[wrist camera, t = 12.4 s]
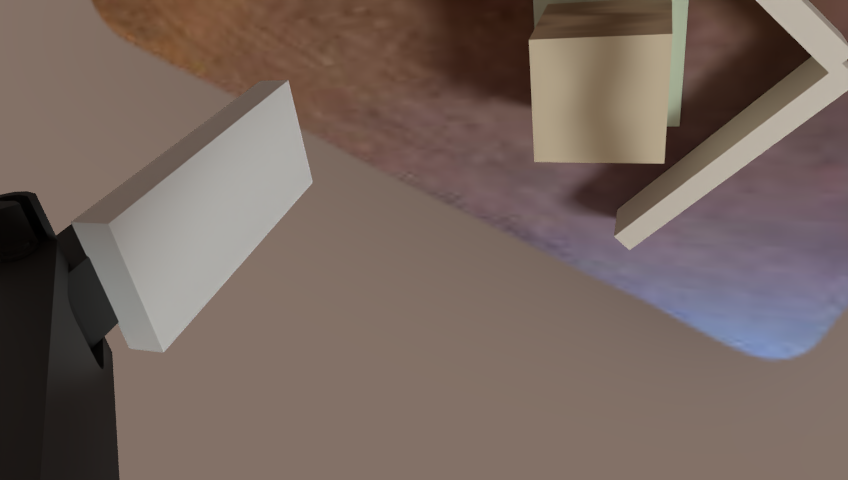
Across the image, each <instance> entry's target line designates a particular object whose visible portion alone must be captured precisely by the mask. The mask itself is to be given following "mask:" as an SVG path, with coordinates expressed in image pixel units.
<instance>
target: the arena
mask: <svg viewBox="0 0 848 480" xmlns="http://www.w3.org/2000/svg"><path fill="white" fill-rule="evenodd" d="M593 1H610V0H533V8H534V29H535V27H536V25H537V23H538V21H539V20H540V18H541V16H542V14H543V12H544V10H545V8H546V6H547V5H548V4H558V3H575V2H593ZM756 1H757V2H758V3H759V4H760V5H761V6H762V7H763V8H764V9H765V10H766V11H767V12H768V13H769V14H770V15H771V16H772V17H773V18H774V19H775V20H776V21H777V22H778V23H779V24H780V25H781V26H782V27H783V28H784V29H785V30H786V31H787V32H788V33H789V34H790V35H791V36H792V37H793V38H794V39H795V40H796V41H797V42H798V43H799V44H800V45H801V46H802V47H803V48H804V49H805V50H806V51H807V52H808V53H809V54H810V55H811V57H810V58H809V59H808V60H806V61H805V62H804V63H802V64H801V65H800V66H799V67H797V68H796V69H795V70H794V71H792V72H791V73H790V74H789V75H787V76H786V77H785V78H783V79H782V80H781V81H780V82H778V83H777V84H776V85H775V86H773V87H772V88H771V89H770V90H768V91H767V92H766V93H764V94H763V95H762V96H761V97H759V98H758V99H757V100H756V101H754V102H753V103H752V104H750V105H749V106H748V107H747V108H745V109H744V110H743V111H742V112H740V113H739V114H738V115H737V116H735V117H734V118H733V119H731V120H730V121H729V122H728V123H726V124H725V125H724V126H723V127H721V128H720V129H719V130H718V131H716V132H715V133H714V134H712V135H711V136H710V137H709V138H707V139H706V140H705V141H704V142H702V143H701V144H700V145H698V146H697V147H696V148H695V149H693V150H692V151H691V152H690V153H688V154H687V155H686V156H685V157H683V158H682V159H681V160H679V161H678V162H677V163H676V164H674V165H673V166H672V167H671V168H669V169H668V170H667V171H666V172H664V173H663V174H662V175H660V176H659V177H658V178H657V179H655V180H654V181H653V182H652V183H650V184H649V185H648V186H646V187H645V188H644V189H643V190H641V191H640V192H639V193H638V194H636V195H635V196H634V197H633V198H631V199H630V200H629V201H627V202H626V203H625V204H624V205H622V206H621V207H620V208H619V209H617V216H616V225H615V233H614V237H615V238H616V239H617V240H619V241H620V242H621V243H622V244H623V245H624V246H625V247H627V248H628V249H629V250H630V249H632V248H633V247H634V246H636V245H637V244H638V243H640V242H641V241H643V240H644V239H645V238H647V237H648V236H649V235H651V234H652V233H654V232H655V231H656V230H658V229H659V228H660V227H662V226H663V225H664V224H666V223H667V222H669V221H670V220H671V219H673V218H674V217H675V216H677V215H678V214H679V213H681V212H682V211H684V210H685V209H686V208H688V207H689V206H690V205H692V204H693V203H695V202H696V201H697V200H699V199H700V198H701V197H703V196H704V195H705V194H707V193H708V192H710V191H711V190H712V189H714V188H715V187H716V186H718V185H719V184H720V183H722V182H723V181H725V180H726V179H727V178H729V177H730V176H731V175H733V174H734V173H736V172H737V171H738V170H740V169H741V168H742V167H744V166H745V165H746V164H748V163H749V162H751V161H752V160H753V159H755V158H756V157H757V156H759V155H760V154H761V153H763V152H764V151H766V150H767V149H768V148H770V147H771V146H772V145H774V144H775V143H776V142H778V141H779V140H781V139H782V138H783V137H785V136H786V135H787V134H789V133H790V132H792V131H793V130H794V129H796V128H797V127H798V126H800V125H801V124H802V123H804V122H805V121H807V120H808V119H809V118H811V117H812V116H813V115H815V114H816V113H817V112H819V111H820V110H822V109H823V108H824V107H826V106H827V105H828V104H830V103H831V102H833V101H834V100H835V99H837V98H838V97H839V96H841V95H842V94H843V93H845V92H846V91H848V62H847V59H848V43H847V41H846V40H845V38H844V37H843V35H842V34H841V33H840V32H839V31H838V30H837V29H836V28H835V27H834V26H833V25H832V24H831V23H830V22H829V21H828V20H827V19H826V18H825V17H824V16H823V15H822V14H821V13H820V11H819V10H818V9H817V8H816V7H815V6H814V5H813V4H812V3H811V2H810V1H809V0H756ZM687 14H688V0H672V32H673V34H672V50H671V66H670V82H669V98H668V114H667V126H680V112H681V98H682V84H683V70H684V56H685V42H686V28H687Z"/></svg>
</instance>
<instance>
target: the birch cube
mask: <svg viewBox="0 0 848 480" xmlns="http://www.w3.org/2000/svg"><path fill="white" fill-rule="evenodd" d="M672 34H673V32H672V0H610V1H593V2H575V3H558V4H548V5H547V6H546V8H545V10H544V12H543V14H542V16H541V18H540V20H539V21H538V23H537V25H536V27H535V29H534V31H533V33H532V35H531V37H530V38H529V55H530V77H531V98H532V119H533V141H534V162H577V163H654V164H664V161H665V145H666V130H667V114H668V98H669V82H670V66H671V50H672Z"/></svg>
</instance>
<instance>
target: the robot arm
mask: <svg viewBox="0 0 848 480" xmlns="http://www.w3.org/2000/svg"><path fill="white" fill-rule="evenodd" d="M312 183H313V182H312V177H311V173H310V169H309V165H308V160H307V156H306V152H305V148H304V144H303V140H302V135H301V131H300V127H299V123H298V119H297V115H296V110H295V106H294V102H293V98H292V94H291V90H290V85H289V81H288V80H277V81H259V82H258V83H257V84H255V85H254V86H253V87H251V88H250V89H249V90H247V91H246V92H245V93H243V94H242V95H241V96H239V97H238V98H237V99H235V100H234V101H233V102H231V103H230V104H229V105H227V106H226V107H225V108H223V109H222V110H221V111H219V112H218V113H217V114H215V115H214V116H213V117H211V118H210V119H209V120H207V121H206V122H204V124H202V125H200V126H199V127H198V128H197V129H195V130H194V131H192V132H191V133H190V134H188V135H187V136H186V137H184V138H183V139H182V140H180V141H179V142H178V143H176V144H175V145H174V146H172V147H171V148H170V149H169V150H167V151H166V152H164V153H163V154H162V155H160V156H159V157H158V158H156V159H155V160H154V161H152V162H151V163H150V164H148V165H147V166H146V167H144V168H143V169H142V170H140V171H139V172H137V173H136V174H135V175H133V176H132V177H131V178H129V179H128V180H127V181H125V182H124V183H123V184H121V185H120V186H119V187H117V188H116V189H115V190H113V191H112V192H111V193H109V194H108V195H107V196H105V197H104V198H103V199H101V200H100V201H99V202H97V203H96V204H95V205H93V206H92V207H91V208H89V209H88V210H87V211H85V212H84V213H83V214H81V215H80V216H79V217H77V218H76V219H74V220H73V221H72V222H71V225H70V226H68V227H67V228H66V229H65V230H63V231H62V232H60V233H59V234H58V235H55V233H54V231H53V229H52V227H51V225H50V223H49V221H48V219H47V217H46V214H45V213H44V210H43V208H42V206H41V204H40V202H39V200H38V198H37V196H36V194H35V193H31V192H12V193H7V194H2V195H0V480H119V465H118V449H117V448H118V447H117V430H116V413H115V395H114V377H113V361H112V351H111V349H110V347H109V345H108V343H107V341H106V339H105V337H104V336H105V335H106V334H107V333H108V332H109V331H110V330H111V329H112V328H113V327H114V326H115V325H116V324H117V323H118V325H119V327H120V329H121V331H122V333H123V335H124V338H125V340H126V342H127V344H128V346H129V348H130V349H138V350H147V351H156V352H164V351H165V350H166V349H167V348H168V347H169V346H170V345H171V343H172V342H173V341H174V340H175V339H176V338H177V337H178V335H179V334H180V333H181V332H182V331H183V329H185V327H186V326H187V325H188V324H189V323H190V322H191V321H192V320H193V318H194V317H195V316H196V315H197V314H198V313H199V311H200V310H201V309H202V308H203V307H204V306H205V305H206V304H207V302H208V301H209V300H210V299H211V298H212V297H213V296H214V294H215V293H216V292H217V291H218V290H219V289H220V288H221V286H222V285H223V284H224V283H225V282H226V281H227V280H228V278H229V277H230V276H231V275H232V274H233V273H234V272H235V270H236V269H237V268H238V267H239V266H240V265H241V264H242V262H243V261H244V260H245V259H246V258H247V257H248V256H249V254H250V253H251V252H252V251H253V250H254V249H255V248H256V246H257V245H258V244H259V243H260V242H261V241H262V240H263V239H264V237H265V236H266V235H267V234H268V233H269V231H271V229H272V228H273V227H274V226H275V225H276V224H277V223H278V221H279V220H280V219H281V218H282V217H283V216H284V214H285V213H286V212H287V211H288V210H289V209H290V208H291V206H292V205H293V204H294V203H295V202H296V201H297V200H298V198H299V197H300V196H301V195H302V194H303V193H304V192H305V191H306V189H307V188H308V187H309V186H310V185H311V184H312Z"/></svg>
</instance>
